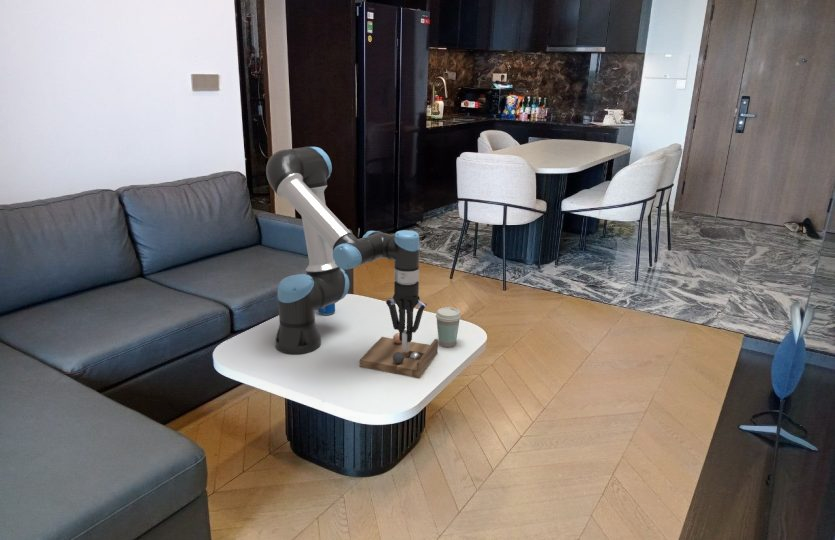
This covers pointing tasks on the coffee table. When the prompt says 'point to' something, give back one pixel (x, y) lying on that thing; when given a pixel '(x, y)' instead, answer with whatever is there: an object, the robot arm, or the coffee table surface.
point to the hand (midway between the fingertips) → (405, 350)
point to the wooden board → (383, 360)
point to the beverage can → (327, 309)
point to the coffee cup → (447, 326)
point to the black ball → (398, 357)
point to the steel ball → (415, 356)
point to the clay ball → (396, 338)
